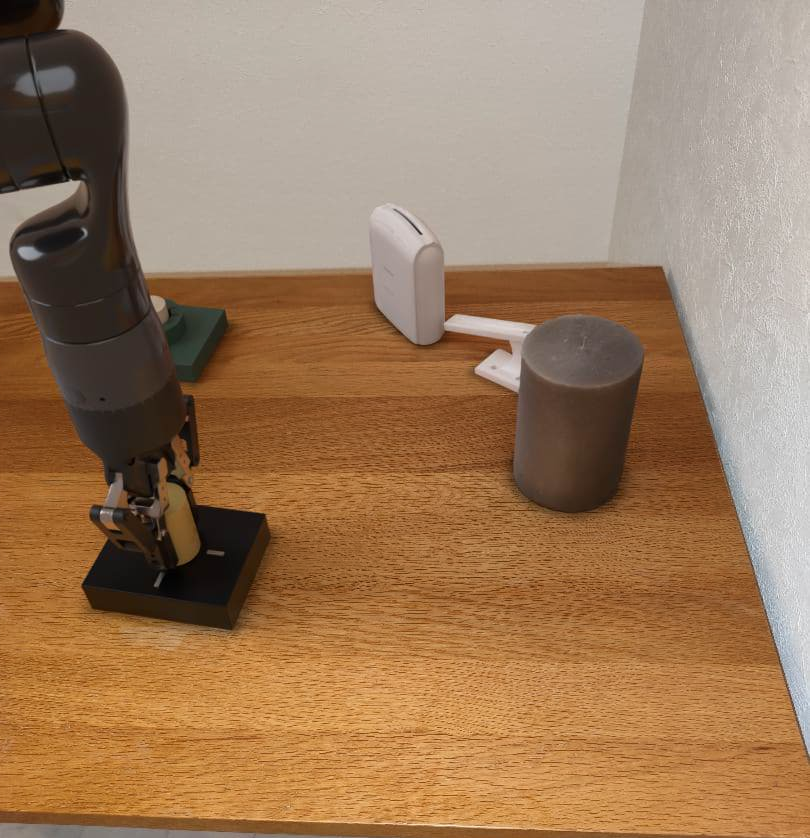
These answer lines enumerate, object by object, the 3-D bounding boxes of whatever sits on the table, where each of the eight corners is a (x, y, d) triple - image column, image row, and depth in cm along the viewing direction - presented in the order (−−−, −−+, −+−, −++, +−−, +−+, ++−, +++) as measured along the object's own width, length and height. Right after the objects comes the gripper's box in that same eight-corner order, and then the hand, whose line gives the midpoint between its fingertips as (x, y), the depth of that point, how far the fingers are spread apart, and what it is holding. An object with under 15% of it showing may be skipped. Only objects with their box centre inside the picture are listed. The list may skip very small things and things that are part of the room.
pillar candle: (637, 502, 78) (669, 362, 66) (529, 522, 77) (543, 382, 65) (598, 430, 84) (621, 291, 73) (498, 447, 83) (506, 309, 72)
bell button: (128, 328, 92) (124, 313, 90) (142, 308, 94) (138, 293, 93) (161, 331, 91) (157, 316, 90) (174, 311, 93) (170, 296, 92)
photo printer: (369, 304, 99) (361, 199, 90) (402, 293, 101) (398, 187, 91) (415, 352, 93) (412, 244, 84) (450, 339, 94) (451, 231, 85)
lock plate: (91, 608, 72) (79, 584, 70) (140, 519, 78) (131, 494, 76) (232, 630, 70) (225, 606, 68) (271, 537, 76) (265, 511, 74)
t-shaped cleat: (600, 430, 84) (608, 384, 80) (432, 354, 93) (432, 309, 89) (622, 408, 86) (630, 362, 82) (455, 335, 95) (456, 291, 91)
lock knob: (164, 525, 74) (146, 475, 69) (208, 534, 73) (193, 483, 68) (142, 561, 71) (122, 511, 67) (187, 571, 70) (170, 520, 66)
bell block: (88, 371, 93) (76, 339, 90) (126, 316, 99) (117, 284, 96) (196, 382, 91) (187, 350, 88) (228, 326, 97) (221, 294, 94)
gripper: (124, 448, 53) (188, 619, 66) (206, 312, 63) (248, 485, 75) (11, 435, 55) (95, 606, 67) (107, 304, 64) (165, 476, 77)
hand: (176, 541), depth 71 cm, fingers closed on lock knob, 4 cm apart
